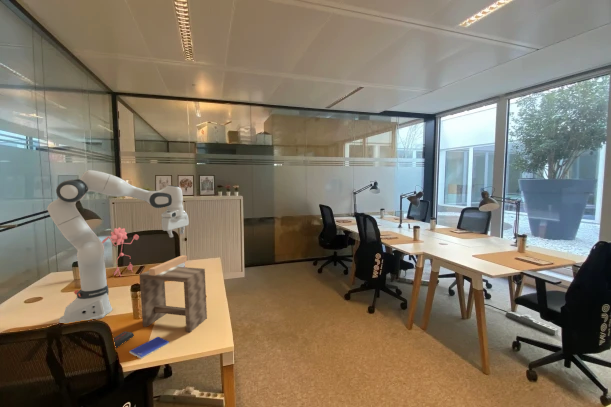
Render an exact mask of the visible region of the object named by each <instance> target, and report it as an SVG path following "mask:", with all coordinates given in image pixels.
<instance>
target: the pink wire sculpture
mask: <svg viewBox="0 0 611 407" xmlns="http://www.w3.org/2000/svg"><path fill="white" fill-rule="evenodd" d="M127 234H128V233H127V232H126V228H125V227H124V228H121V227H120V226H119V227H118V228H117V227H115V228H113V231H111V232H110V235H111V236H106V237H105V238H104V239H103V240H101V242H102V243H103V244H104V243H106V242H107V241H108V239H109V240H110V242H111V243H112V244H113V245H114V247H116V246H120V245H121V248H120V252H119V256H118V257H117V259H116V260H115V262H116V263H118V260H119V258H120V257H123V256H126V257H129V258H131V256H130V255H127V254H124V252H123V244H126V245H131V244H132V243H133V241H134V240H136V241H138V240H139V239H140V236H139V235H138V234H134V235H133V238H132V240H131V241H130V242H125V240H128V236H127ZM115 243H116V244H115ZM133 267H134V265H133V264H132V263H129V265H127V268H126V269H127V270H128V271H130V270H131V271H130V272H132V273H134V271H133ZM116 274H118V275H119V277H122V275H121V272H120V267H118V266H116V269H115V271H113V276H115V275H116Z"/></svg>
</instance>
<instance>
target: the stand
mask: <svg viewBox="0 0 611 407" xmlns="http://www.w3.org/2000/svg"><path fill="white" fill-rule="evenodd" d="M205 271H206V268H199V267H186V266H185V267H179V266H175V267H173V268H171V269H168V270H166V271H164V272H162V273H160V274H157V275H155V276H154V275H149V270H146V271H144V272H141V273H140V274H139V287H140V289H139V290H140V303H141V316H142V327H144V328H147V327H149V326H150V325H152V324H153V323H155V322H157V321H158V320H159V319H160V318H162V317H163V316H165V315H176V316H181V317H183V316H184V317H185V329H186V330H185V331H186V333H191V332H193V331H194V330H195V329H196V328H197V327H199V324H200V325H201V324H202V323H203V322H204V321H206V320H207V319H208V314H207V313H208V311H207V290H206V272H205ZM165 281H167V282H175V283H176V282H178V283H183V291H184V293H183V294H184V295H183V296H184V307H180V306H179V307H178V306H171V305H167V302H166V301H167V300H166V284H165ZM205 319H206V320H205ZM192 330H193V331H192Z"/></svg>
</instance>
